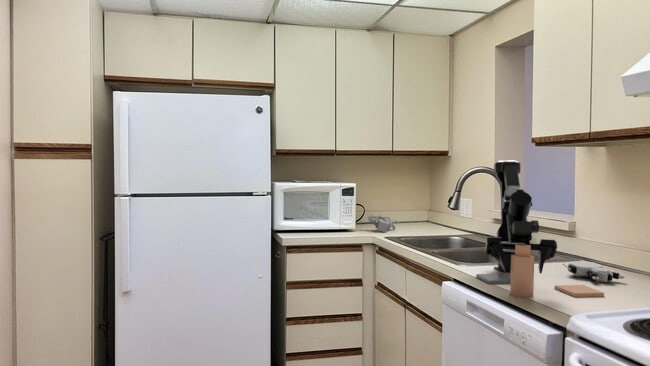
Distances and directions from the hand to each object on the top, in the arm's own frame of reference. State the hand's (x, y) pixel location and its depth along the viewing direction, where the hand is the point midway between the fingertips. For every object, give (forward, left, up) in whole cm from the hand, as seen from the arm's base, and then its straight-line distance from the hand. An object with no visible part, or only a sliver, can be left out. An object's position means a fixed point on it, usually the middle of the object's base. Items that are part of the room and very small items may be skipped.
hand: (523, 271), depth 129 cm
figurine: (-137, -5, -7) cm, 137 cm away
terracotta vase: (-1, +1, -7) cm, 7 cm away
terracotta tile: (-2, +19, -7) cm, 20 cm away
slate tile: (-18, +2, -7) cm, 20 cm away
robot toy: (-18, +35, -7) cm, 40 cm away
